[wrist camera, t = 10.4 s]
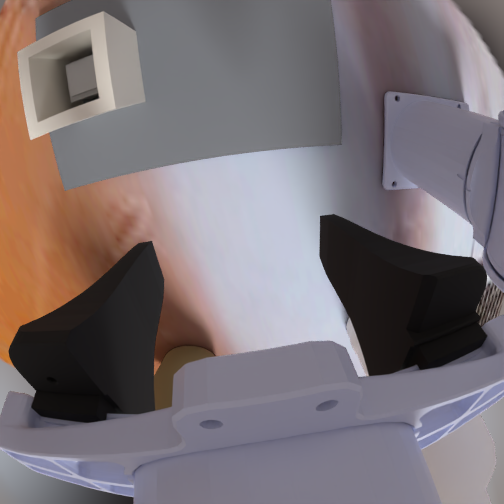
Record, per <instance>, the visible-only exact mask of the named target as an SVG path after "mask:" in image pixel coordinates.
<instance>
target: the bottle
mask: <svg viewBox="0 0 504 504" xmlns="http://www.w3.org/2000/svg"><path fill="white" fill-rule="evenodd" d="M346 328H347V334H348V336H349V338H350V342H351V345H352V347H353V350H354V351H355V353H356V354H357V356H358V358H359V360H360V363H361V365H362V367H363V369H364V372H365V374H366V376H369V374H368V371H367V367H366V364H365V360H364V357H363V353H362V350H361V347H360V344H359V341H358V339H357V336H356V333H355V330H354V328H353V325H352V322H351V320H350V317H349V319H348V322H347V325H346ZM421 451H422V453H423V456H424V458H425V461H426V463H427V466H428V468H429V471H430V473H431V476H432V479H433V481H434V484H435V487H436V489H437V492H438V495H439V497H440V500H441V503H442V504H492V503H491V501H490V498H489V495H488V492H487V490H486V488H487V486H488V484H489V481H490V479H491V477H492V474H493V472H494V470H495V467H496V452H495V444H494V440H493V439H492V436H491V434H490V432H489V430H488V428H487V426H486V425H485V422H484V420H483V419H482V417H481V415H480V414H479V415H477V416H476V417H474V418H473V419H472V420H470V421H469V422H467V423H465V424H464V425H462V426H461V427H459V428H458V429H456V430H455V431H453V432H451V433H450V434H448V435H446V436H445V437H443V438H441V439H440V440H438V441H436V442H434V443H433V444H431V445H429V446H427V447H425V448H423V449H422V450H421Z"/></svg>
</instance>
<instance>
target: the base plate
mask: <svg viewBox="0 0 504 504" xmlns="http://www.w3.org/2000/svg"><path fill="white" fill-rule="evenodd" d="M103 11H104V12H106V13H107V14H109V15H111V16H112V17H114V18H116V19H117V20H119V21H120V22H122V23H124V24H125V25H127V26H128V27H130V28H131V29H133V30H135V31H136V35H137V44H138V52H139V60H140V67H141V74H142V81H143V88H144V94H145V100H146V102H142V103H138V104H134V105H130V106H127V107H123V108H120V109H116V110H113V111H109V112H106V113H103V114H100V115H97V116H94V117H91V118H88V119H85V120H82V121H79V122H76V123H73V124H70V125H68V126H65V127H62V128H59V129H57V130H54V131H52V132H49V133H50V137H51V142H52V146H53V150H54V154H55V158H56V162H57V165H58V169H59V172H60V176H61V179H62V183H63V186H64V189H65V191H66V190H69V189H73V188H76V187H80V186H83V185H87V184H90V183H94V182H98V181H102V180H106V179H110V178H114V177H118V176H122V175H126V174H130V173H135V172H139V171H144V170H148V169H153V168H158V167H163V166H168V165H173V164H178V163H184V162H189V161H195V160H201V159H207V158H214V157H220V156H227V155H234V154H242V153H249V152H258V151H267V150H276V149H286V148H298V147H311V146H326V145H341V108H340V89H339V73H338V61H337V50H336V40H335V31H334V22H333V14H332V7H331V0H71V1H69V2H67V3H65V4H62V5H60V6H58V7H56V8H54V9H52V10H50V11H48V12H47V13H45V14H43V15H41V16H39V17H37V18H36V41H38V40H40V39H42V38H43V37H45V36H47V35H49V34H51V33H53V32H55V31H57V30H59V29H62V28H64V27H66V26H68V25H70V24H73V23H75V22H77V21H80V20H82V19H84V18H87V17H89V16H92V15H95V14H97V13H100V12H103ZM66 73H67V81H68V87H69V94H70V100H71V103H72V102H78V101H83V103H84V104H85V103H88V102H91V101H94V100H96V99H99V94H98V88H97V81H96V74H95V67H94V59H93V55H90V56H87V57H85V58H82V59H80V60H77V61H75V62H72V63H70V64H68V65H66Z"/></svg>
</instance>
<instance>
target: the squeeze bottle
mask: <svg viewBox="0 0 504 504" xmlns="http://www.w3.org/2000/svg"><path fill="white" fill-rule="evenodd" d="M207 357H215V355H214V354H213V353H212V352H210V351H208V350H206V349H205V348H201V347H197V346H181V347H177V348H173V349H172V350H171V351H169V352H168V353H167V354H166V356H165V357H164V359H163V361H162V363H161V365H160V366H159V368H158V370H157V372H156V374H155V375H154V397H155V411H156V410H160V409H164V408H169V407H172V395H173V378H174V374H175V373H176V372H177V371H178V370H179V369H181V368H182V367H183V366H184V365H185V364H187V363H190V362H193V361H197V360H200V359H204V358H207Z"/></svg>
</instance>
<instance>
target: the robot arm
mask: <svg viewBox="0 0 504 504" xmlns="http://www.w3.org/2000/svg"><path fill="white" fill-rule="evenodd" d="M395 96H397V98H398V99H397V101H395ZM384 106H385V132H384V163H383V180H382V186H383V188H385V189H386V190H399V189H412V188H421V189H423V190H424V191H426V192H427V193H429V194H430V195H432V196H433V197H434V198H436V199H437V200H439V201H440V202H442V203H443V204H444V205H446V206H447V207H449V208H450V209H451V210H453V211H454V212H456V213H457V214H458V215H460V216H461V217H462V218H464V219H465V220H466V221H468V222H469V223H470V224H471V225H473V238H474V239H475V240H476V241H477V242H478V243H479V244H481V245H482V246H483V247H484V250H483V257H482V259H483V265H484V268H485V269H484V268H483V267H482V266H481V265H480V264H479V263H478V262H477V261H476V260H475V259H474V258H472V257H462V256H451V255H445V254H439V253H434V252H429V251H425V250H421V249H417V248H413V247H410V246H406V245H403V244H400V243H398V242H395V241H392V240H389V239H387V238H385V237H382V236H380V235H378V234H375V233H373V232H371V231H369V230H367V229H365V228H363V227H361V226H358V225H356V224H354V223H352V222H350V221H348V220H346V219H344V218H342V217H340V216H337V215H334V214H332V215H324V216H320V259H321V262H322V264H323V267H324V270H325V272H326V275H327V276H328V278H329V280H330V282H331V284H332V286H333V287H334V289H335V291H336V293H337V295H338V296H339V298H340V300H341V302H342V304H343V306H344V307H345V309H346V311H347V313H348V315H349V317H350V320H351V322H352V325H353V328H354V330H355V333H356V336H357V339H358V341H359V344H360V347H361V350H362V353H363V357H364V360H365V364H366V367H367V371H368V374H369V376H366V377H358V375H357V373H356V370H355V368H354V366H353V363H352V361H351V359H350V356H349V354H348V352H347V349H346V348H345V347H343V346H341V345H339V344H337V343H335V342H333V341H309V342H304V343H298V344H293V345H288V346H282V347H277V348H271V349H265V350H258V351H252V352H245V353H238V354H231V355H223V356H215V357H207V358H204V359H200V360H197V361H193V362H190V363H187V364H185V365H184V366H183V367H182V368H181V369H179V370H178V371H177V372H176V373H175V374H174V378H173V395H172V407H169V408H164V409H160V410H156V411H155V397H154V350H155V341H156V335H157V329H158V324H159V319H160V313H161V308H162V303H163V294H164V278H163V275H162V271H161V268H160V265H159V262H158V259H157V256H156V253H155V250H154V246H153V243H152V241H149V242H143V243H138V244H137V245H136V246H134V247H133V248H132V249H131V250H130V251H129V252H128V253H127V254H126V255H125V256H124V257H123V258H121V259H120V260H119V261H118V262H117V263H116V264H115V265H114V266H113V267H112V268H111V269H110V270H109V271H108V272H107V273H105V274H104V275H103V276H102V277H101V278H100V279H99V280H98V281H97V282H95V283H94V284H93V285H92V286H90V287H89V288H88V289H87V290H85V291H84V292H83V293H81V294H80V295H78V296H77V297H75V298H74V299H72V300H71V301H69V302H68V303H66V304H65V305H63V306H61V307H60V308H58V309H56V310H54V311H53V312H51V313H49V314H47V315H45V316H43V317H41V318H39V319H36V320H34V321H32V322H29V323H27V324H25V325H22V326H20V328H19V330H18V332H17V333H16V335H15V337H14V339H13V341H12V343H11V345H10V348H9V357H10V359H11V361H12V363H13V365H14V366H15V368H16V369H17V370H18V371H19V373H20V374H21V375H22V376H23V377H24V378H25V379H26V380H27V381H28V383H29V384H30V385H31V386H33V388H34V389H35V390H36V393H35V397H32V396H30V395H28V394H25V393H18V392H12V391H10V392H8V395H7V398H6V401H5V403H4V406H3V409H2V413H1V415H0V449H1V450H2V451H4V452H5V453H7V454H8V455H9V456H11V457H12V458H14V459H15V460H17V461H19V462H20V463H22V464H23V465H25V466H27V467H28V468H30V469H32V470H33V471H35V472H38V473H41V474H44V475H47V476H51V477H54V478H57V479H60V480H64V481H67V482H70V483H74V484H78V485H81V486H85V487H89V488H92V489H97V490H101V491H105V492H110V493H114V494H119V495H125V496H131V497H134V504H442V503H441V500H440V497H439V495H438V492H437V489H436V487H435V484H434V481H433V479H432V476H431V473H430V471H429V468H428V466H427V463H426V461H425V458H424V456H423V453H422V451H421V450H422V449H423V448H425V447H427V446H429V445H431V444H433V443H434V442H436V441H438V440H440V439H441V438H443V437H445V436H446V435H448V434H450V433H451V432H453V431H455V430H456V429H458V428H459V427H461V426H462V425H464V424H465V423H467V422H469V421H470V420H472V419H473V418H474V417H476V416H477V415H479V414H480V413H482V412H483V411H485V410H486V409H488V408H489V407H490V406H492V405H493V404H495V403H496V402H497V401H499V400H500V399H502V398H503V397H504V315H501V316H499V317H497V318H495V319H493V320H491V321H489V322H487V323H486V324H485V325H484V326H483V327H482V328H481V327H480V325H479V324H478V323H477V322H478V321H479V319H480V316H479V315H478V314H477V313H476V311H475V310H476V308H477V306H478V304H479V302H480V299H481V297H482V295H483V292H484V290H485V287H486V281H487V275H488V276H489V277H490V279H491V280H492V282H493V283H494V284H495V285H496V286H497V287H498V288H499V289H500V290H501V291H502V292H504V110H503V111H501V112H499V115H498V120H496V119H493V118H490V117H487V116H484V115H481V114H478V113H474V112H471V111H469V106H468V104H467V103H464V102H459V101H454V100H448V99H443V98H437V97H431V96H424V95H417V94H409V93H400V92H390V91H389V92H386V93H385V96H384ZM457 106H458V108H457ZM393 182H395V183H394V185H392V183H393ZM486 273H487V274H486Z"/></svg>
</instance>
